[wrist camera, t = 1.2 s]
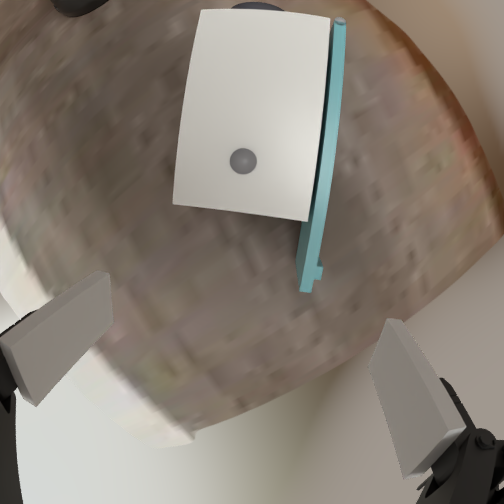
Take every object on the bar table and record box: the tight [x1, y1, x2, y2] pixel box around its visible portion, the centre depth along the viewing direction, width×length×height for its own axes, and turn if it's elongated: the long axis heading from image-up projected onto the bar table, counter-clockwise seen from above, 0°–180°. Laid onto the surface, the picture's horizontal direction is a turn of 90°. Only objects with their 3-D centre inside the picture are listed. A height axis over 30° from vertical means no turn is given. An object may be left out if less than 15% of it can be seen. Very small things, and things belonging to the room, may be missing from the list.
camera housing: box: [173, 2, 330, 222], centre depth 23 cm, size 20×11×10 cm, turn 173°
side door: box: [295, 17, 346, 293], centre depth 24 cm, size 24×2×8 cm, turn 173°
